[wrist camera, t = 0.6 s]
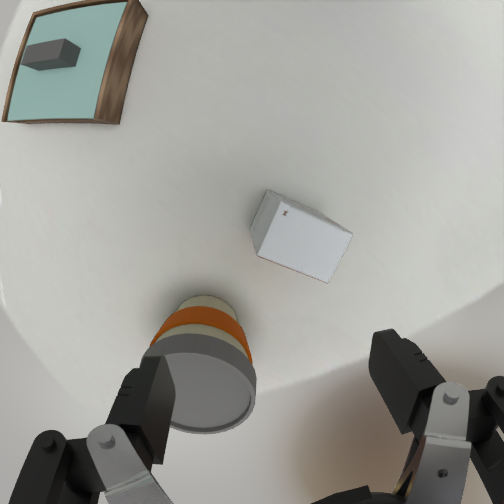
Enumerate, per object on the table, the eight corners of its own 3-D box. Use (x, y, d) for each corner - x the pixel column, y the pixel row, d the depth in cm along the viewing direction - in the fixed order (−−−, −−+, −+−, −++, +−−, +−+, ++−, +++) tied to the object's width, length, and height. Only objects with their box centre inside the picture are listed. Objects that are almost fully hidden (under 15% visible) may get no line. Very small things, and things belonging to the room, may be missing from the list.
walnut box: (54, 25, 26) (33, 12, 20) (148, 15, 28) (134, -6, 21) (28, 123, 30) (1, 121, 24) (119, 124, 32) (98, 118, 26)
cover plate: (40, 19, 21) (21, 8, 17) (129, 5, 23) (116, -14, 18) (11, 120, 26) (-13, 119, 21) (97, 119, 27) (76, 113, 22)
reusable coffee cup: (148, 295, 39) (111, 361, 25) (236, 272, 39) (237, 336, 24) (181, 365, 43) (165, 440, 28) (260, 348, 42) (271, 424, 28)
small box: (248, 229, 37) (253, 256, 27) (267, 188, 36) (279, 199, 26) (305, 253, 38) (328, 286, 28) (324, 214, 37) (355, 234, 27)
